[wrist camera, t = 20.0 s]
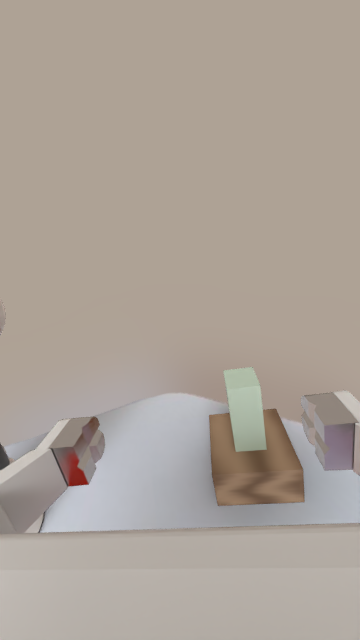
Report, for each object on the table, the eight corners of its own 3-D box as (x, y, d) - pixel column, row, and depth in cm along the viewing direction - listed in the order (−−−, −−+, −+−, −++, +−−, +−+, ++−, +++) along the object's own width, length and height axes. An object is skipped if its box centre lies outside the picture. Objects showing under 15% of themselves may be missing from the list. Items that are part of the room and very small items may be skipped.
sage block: (235, 451, 36) (226, 389, 33) (231, 427, 40) (223, 370, 37) (266, 449, 35) (260, 385, 32) (258, 424, 40) (252, 367, 37)
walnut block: (217, 505, 35) (212, 474, 33) (213, 440, 46) (209, 415, 44) (304, 501, 33) (303, 469, 31) (278, 435, 44) (275, 408, 43)
